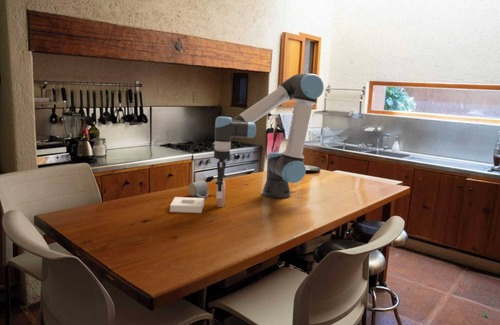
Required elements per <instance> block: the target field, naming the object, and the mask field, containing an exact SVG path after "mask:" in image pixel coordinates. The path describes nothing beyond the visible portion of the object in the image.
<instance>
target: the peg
mask: <svg viewBox="0 0 500 325" xmlns="http://www.w3.org/2000/svg"><path fill="white" fill-rule="evenodd" d="M225 197H226V181H225V180H224V181H223V193H222V198H216V197H215V198H216V200H215V201H216V203H215V205H216V207H218V208H224V207H225V204H226V201H225V200H226V198H225Z"/></svg>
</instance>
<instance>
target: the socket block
mask: <svg viewBox="0 0 500 325" xmlns="http://www.w3.org/2000/svg"><path fill="white" fill-rule="evenodd" d="M204 206H205V198H199V197H185V196H184V197H182V196H174V198H173V200H172V201H171V203H170V204H169V212H170V213H190V214H193V213H194V214H197V213H198V214H202V212H203V209H204Z"/></svg>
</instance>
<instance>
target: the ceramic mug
mask: <svg viewBox="0 0 500 325" xmlns="http://www.w3.org/2000/svg"><path fill="white" fill-rule="evenodd" d="M187 188H188V193H189V195H190V196H191V197H193V198H204V199H207V198H208V197H209V186H208V183H207V182H206V181H205V180H199V181H194V182H191V183H189V185H188V187H187Z"/></svg>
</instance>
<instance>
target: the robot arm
mask: <svg viewBox="0 0 500 325" xmlns="http://www.w3.org/2000/svg"><path fill="white" fill-rule="evenodd" d="M324 88H325V87H324V82H323V80H322V79H321V77H320V76H319V75H317V74H314V73H309V72H308V73H297V74H294V75H292V76H291V77H289V78H287V79H286V80H284V81H283V82H282V83H280V84H279V85H278V86H277V87H276V89H275V90H274V91H272V92H271V93H268V95H266V96H264V97H263V98H261V99H260V100H259V101H257V102H256V103H254V104H253V105H251V106H250V107H249V108H247V109H246V110H244V111H243V112H241V113H239V114H238V115H236V116H235V117H234V118H233V117H230V116H217V117H216V118H215V125H214V142H213V143H212V145H214V150H213V158H214V159H216V160H218V161H217V163H216V172H217V178H216V182H215V185H216V197H215V198H222V193H223V181H225V178H226V176H227V175H226V174H225V170H226V166H227V165H226V164H227V162H226V160H229V159H231V151H230V150H231V146H232V145H231V144H232V138H233V139H234V138H241V139H244V138H245V139H250V138H251V139H253V138H254V137H256V134H257V126H256V123H255V122H257V121H259V120H260V119H261V118H264V117H265V116H266V115H267V114H269V113H271V111H273V110H274V109H276V108H277V107H279V106H280V105H282V104H284V103H285V102H290V101H293V102H294V107H293V112H292V116H291V121H290V126H289V132H288V136H287V141H286V146H285V150H284V151H282V152H269V153H268V154H267V159H266V160H267V161H266V162H267V163H266V181H265V183H264V186H263V188H262V195H263V196H265V197H267V198H273V199H285V198H290V197H291V196H292V195H291V194H292V191H291V188H290V184H296V183H298V182H301V181H302V180H303V179H304V177H305V175H306V172H307V168H306V166H305V164H304V162H305V156H304V154H303V153H304V148H305V143H306V137H307V132H308V129H309V124H310V119H311V115H312V110H313V107H314V105H316V104H317V101H318V98H319V97H320V96H321V95H322V94H323V93H324Z"/></svg>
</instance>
